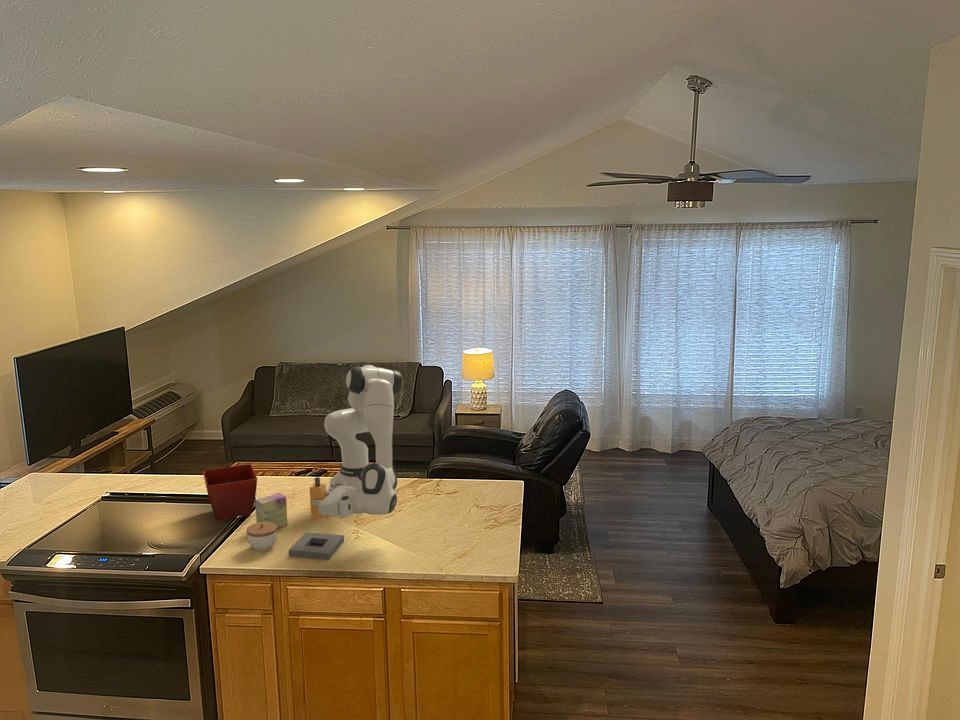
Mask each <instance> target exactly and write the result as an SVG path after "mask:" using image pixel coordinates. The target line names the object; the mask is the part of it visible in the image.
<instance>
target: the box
mask: <svg viewBox="0 0 960 720" xmlns="http://www.w3.org/2000/svg"><path fill="white" fill-rule="evenodd" d="M254 505H255V517H256V523H259V522H272V523H275V524H276V525H277V529H278V528H281V527H284V526H288V511H287V510H288V507H287V496H286V495H284V494H282V493H279V492H278V493H274V494H270V495H267V496H264V497H261V498H255V501H254Z"/></svg>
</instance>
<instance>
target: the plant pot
mask: <svg viewBox="0 0 960 720" xmlns="http://www.w3.org/2000/svg"><path fill="white" fill-rule="evenodd" d="M255 472H256V471H254V468H253V465H252V464H250V463H247V464H241V465H240V464H239V465H233V466H225V467H224V466H223V467H218V468H211V469H204V470H203V471H202V473H203V479H204V483H205V488H206V492H207V496H208V499H209V503H210V506H211V508H212V512H213V513H214V516H215V519H216V520H224V519H230V520H232V519H231V518H235V517H237V516H240V515H242V516H244V517H243V518H248V517H250V516H251V515H252V513H253V512H252V511H253V509H254V505H255V500H256V495H257V486H258V484H257V483H258V476H257V475H256V473H255ZM224 521H225V520H224Z"/></svg>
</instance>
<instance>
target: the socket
mask: <svg viewBox="0 0 960 720" xmlns="http://www.w3.org/2000/svg"><path fill="white" fill-rule="evenodd" d="M344 543H345V534H344V535H343V534H335V533H334V534H331V533H320V532H312V531H311V532H310V531H305V532H304V533H303V534H302V536H301V537H300V538H299V539H297V540H296V542H294V544H293V545H292V546H290V548H288V557H290V558H291V557H292V558H293V557H294V558H303V559H313V560H323V561H324V560H325V561H329V560H330V559H331V558H332V556H334V554H335V553H337V551H338V549H339V548H340V547H342V545H343V544H344Z"/></svg>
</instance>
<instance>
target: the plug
mask: <svg viewBox="0 0 960 720" xmlns="http://www.w3.org/2000/svg"><path fill="white" fill-rule="evenodd" d="M326 488H327V485H326V483H321V478H320V477H319V476H318V477H317V476H316V477H314V483H313V484H312V485H311V486H310V487H309V499H310V517H311V518H310V519H312V520H325V518H326V517H327V516H325V515H320V514H319V513H318V505H313V504H312V500H313V499H318V500H324V499H325V498H326Z"/></svg>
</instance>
